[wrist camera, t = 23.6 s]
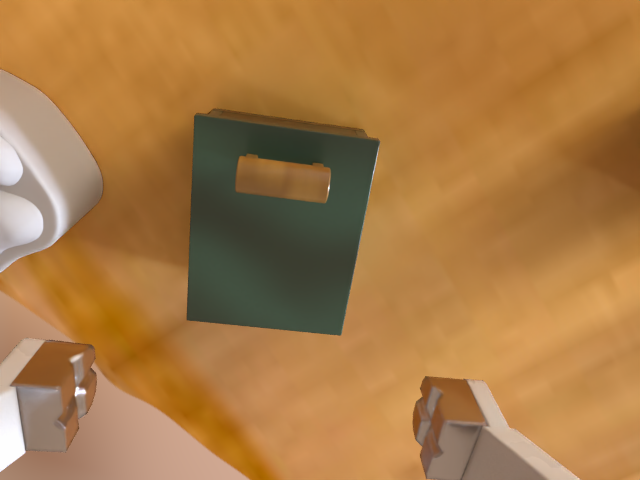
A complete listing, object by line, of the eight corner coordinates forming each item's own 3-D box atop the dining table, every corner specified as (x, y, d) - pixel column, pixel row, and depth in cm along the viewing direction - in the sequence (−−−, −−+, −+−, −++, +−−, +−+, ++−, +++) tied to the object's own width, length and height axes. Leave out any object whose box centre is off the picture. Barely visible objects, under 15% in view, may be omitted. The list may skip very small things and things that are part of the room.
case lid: (196, 112, 28) (177, 129, 24) (378, 138, 29) (392, 159, 25) (188, 314, 34) (171, 358, 30) (340, 330, 35) (346, 375, 31)
